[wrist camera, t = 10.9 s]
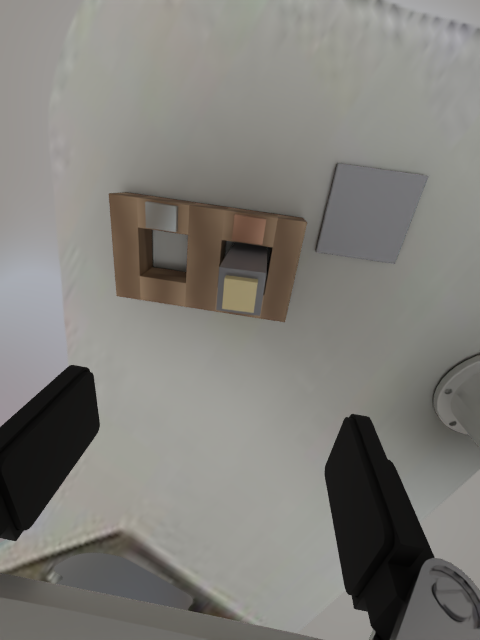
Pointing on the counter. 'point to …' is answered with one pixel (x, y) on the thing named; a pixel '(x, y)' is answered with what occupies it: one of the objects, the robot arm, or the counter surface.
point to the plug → (242, 279)
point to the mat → (369, 212)
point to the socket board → (199, 250)
